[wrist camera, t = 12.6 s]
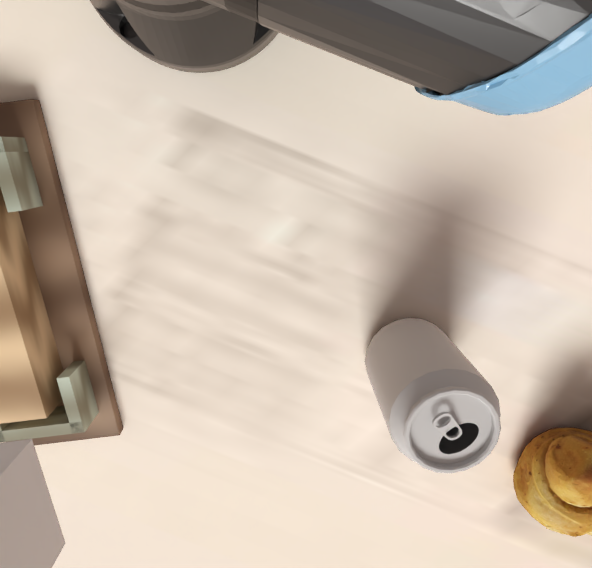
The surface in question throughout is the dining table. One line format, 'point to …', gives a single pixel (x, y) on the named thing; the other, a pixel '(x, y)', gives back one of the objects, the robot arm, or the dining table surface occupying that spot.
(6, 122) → the cradle
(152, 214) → the dining table surface
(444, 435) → the can
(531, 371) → the dining table surface
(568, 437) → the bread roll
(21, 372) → the slat
